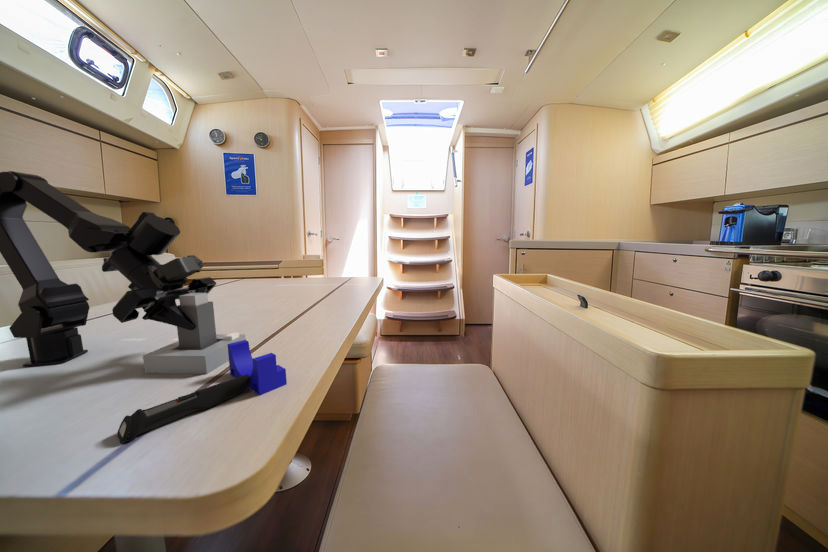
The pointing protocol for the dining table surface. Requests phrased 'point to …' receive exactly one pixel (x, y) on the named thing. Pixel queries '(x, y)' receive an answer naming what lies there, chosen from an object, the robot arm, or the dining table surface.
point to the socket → (190, 357)
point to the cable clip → (256, 368)
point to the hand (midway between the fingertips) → (203, 324)
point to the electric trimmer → (179, 408)
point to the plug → (197, 322)
